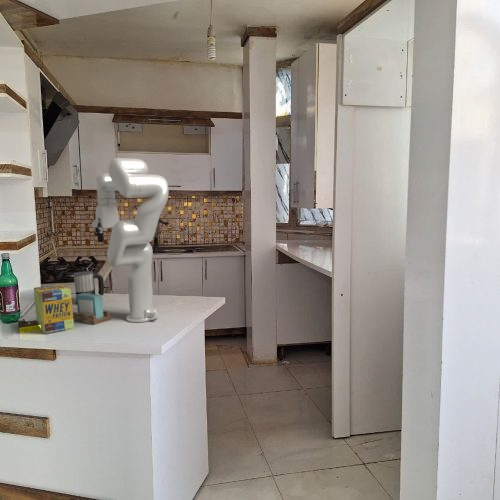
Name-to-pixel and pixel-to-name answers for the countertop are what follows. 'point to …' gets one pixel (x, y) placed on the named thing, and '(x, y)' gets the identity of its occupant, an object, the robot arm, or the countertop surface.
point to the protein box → (54, 308)
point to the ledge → (90, 318)
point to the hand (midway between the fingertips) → (109, 240)
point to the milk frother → (87, 283)
